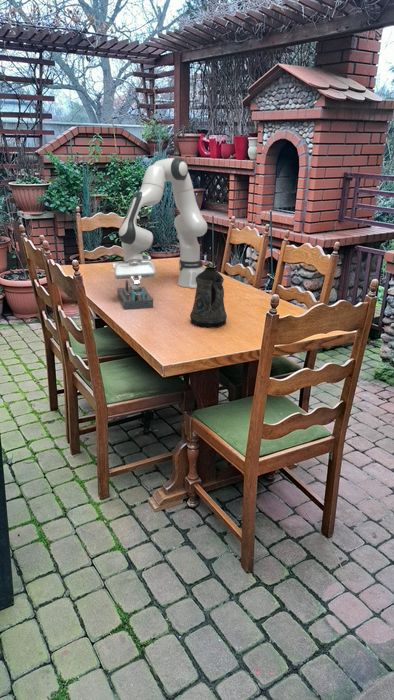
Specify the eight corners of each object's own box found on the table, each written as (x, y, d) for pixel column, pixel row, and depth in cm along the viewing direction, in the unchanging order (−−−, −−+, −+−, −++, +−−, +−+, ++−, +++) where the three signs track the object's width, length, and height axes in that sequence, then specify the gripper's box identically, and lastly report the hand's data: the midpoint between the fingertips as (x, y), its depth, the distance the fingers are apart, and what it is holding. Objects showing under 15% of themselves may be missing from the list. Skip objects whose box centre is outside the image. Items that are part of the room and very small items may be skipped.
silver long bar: (134, 283, 270) (134, 280, 270) (141, 294, 250) (141, 291, 249) (128, 284, 269) (128, 280, 269) (135, 295, 249) (135, 291, 249)
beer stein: (205, 314, 245) (206, 262, 236) (239, 323, 233) (241, 268, 224) (182, 322, 233) (183, 267, 224) (216, 332, 221) (218, 275, 212)
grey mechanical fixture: (143, 293, 276) (143, 278, 273) (153, 308, 252) (153, 291, 249) (117, 295, 273) (117, 279, 269) (124, 309, 249) (124, 292, 246)
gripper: (112, 258, 254) (116, 282, 249) (153, 256, 259) (157, 280, 254) (111, 265, 259) (115, 289, 254) (152, 263, 265) (156, 286, 259)
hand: (137, 284), depth 254 cm, fingers closed
